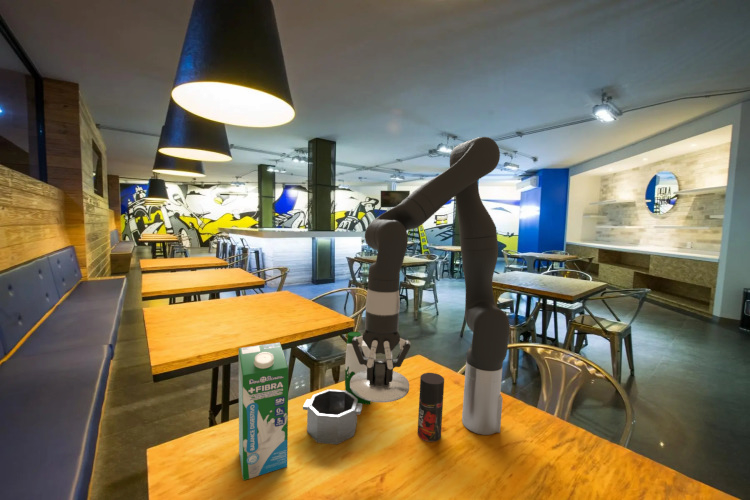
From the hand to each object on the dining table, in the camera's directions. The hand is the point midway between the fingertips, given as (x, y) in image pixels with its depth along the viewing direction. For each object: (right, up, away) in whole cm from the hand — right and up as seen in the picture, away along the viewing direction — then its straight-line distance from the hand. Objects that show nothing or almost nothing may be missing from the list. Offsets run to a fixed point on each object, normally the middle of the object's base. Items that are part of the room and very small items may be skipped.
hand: (379, 381), depth 74 cm
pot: (-12, -16, +10) cm, 22 cm away
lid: (0, -1, 0) cm, 1 cm away
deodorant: (+13, -17, +9) cm, 23 cm away
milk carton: (-26, -17, -2) cm, 31 cm away
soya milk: (-6, -15, +24) cm, 29 cm away
